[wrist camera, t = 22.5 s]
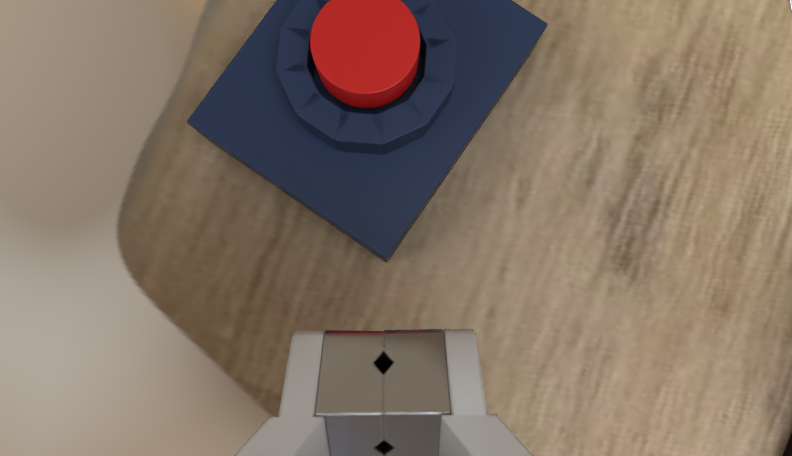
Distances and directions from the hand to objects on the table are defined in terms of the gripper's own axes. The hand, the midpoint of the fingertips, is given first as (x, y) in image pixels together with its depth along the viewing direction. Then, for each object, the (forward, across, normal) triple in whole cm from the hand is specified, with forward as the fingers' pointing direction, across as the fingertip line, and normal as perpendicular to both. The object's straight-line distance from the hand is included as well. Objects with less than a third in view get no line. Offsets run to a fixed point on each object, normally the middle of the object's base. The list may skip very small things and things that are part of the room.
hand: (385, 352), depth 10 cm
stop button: (+16, +1, +2) cm, 16 cm away
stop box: (+19, +1, +5) cm, 20 cm away
